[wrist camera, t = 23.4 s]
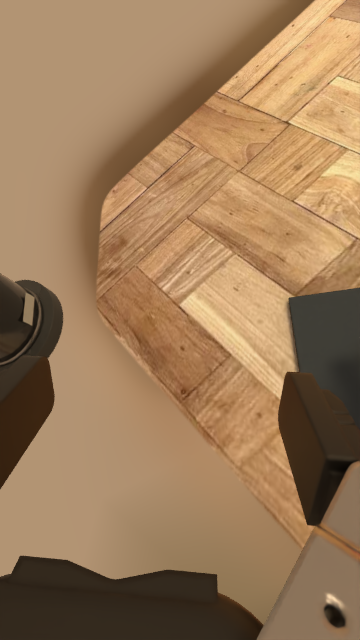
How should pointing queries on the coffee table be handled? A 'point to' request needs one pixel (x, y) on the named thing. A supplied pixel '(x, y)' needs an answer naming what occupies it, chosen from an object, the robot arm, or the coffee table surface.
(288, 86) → the coffee table surface
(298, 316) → the mat
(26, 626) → the robot arm
